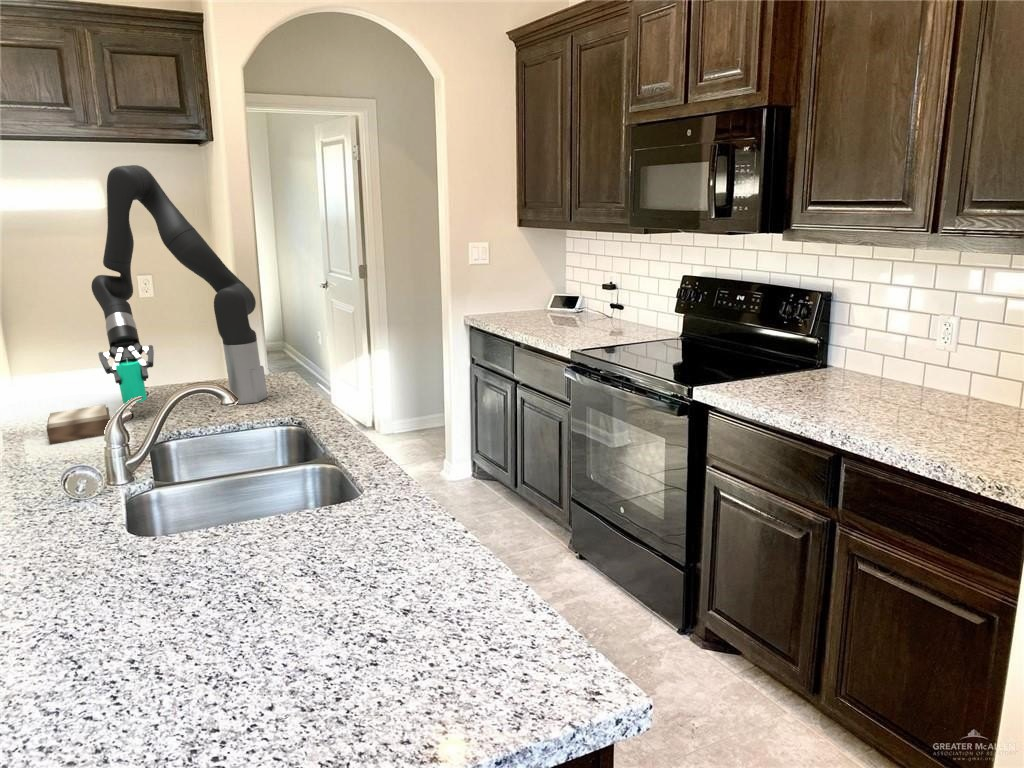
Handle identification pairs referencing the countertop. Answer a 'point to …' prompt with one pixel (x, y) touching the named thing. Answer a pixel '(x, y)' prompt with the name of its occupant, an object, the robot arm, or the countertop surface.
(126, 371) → the candle
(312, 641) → the countertop surface
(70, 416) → the plinth
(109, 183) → the robot arm
